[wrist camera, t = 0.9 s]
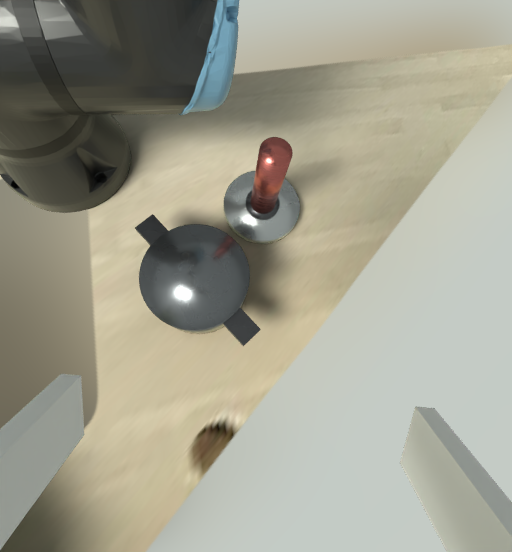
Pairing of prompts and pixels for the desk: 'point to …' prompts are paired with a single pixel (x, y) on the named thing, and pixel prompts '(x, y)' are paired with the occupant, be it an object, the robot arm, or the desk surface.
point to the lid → (264, 197)
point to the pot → (195, 279)
